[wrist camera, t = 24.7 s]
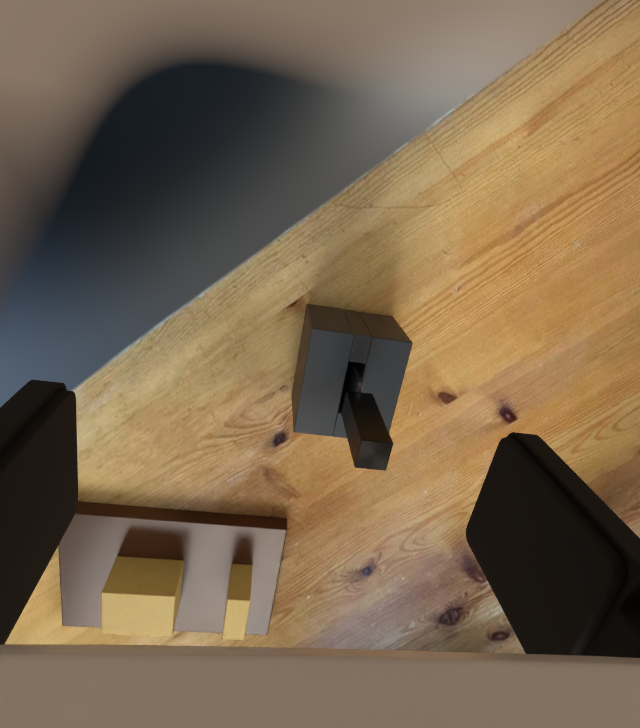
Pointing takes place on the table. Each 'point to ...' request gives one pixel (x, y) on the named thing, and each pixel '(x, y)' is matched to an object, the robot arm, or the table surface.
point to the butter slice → (237, 602)
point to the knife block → (330, 361)
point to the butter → (142, 597)
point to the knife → (364, 424)
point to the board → (174, 542)
